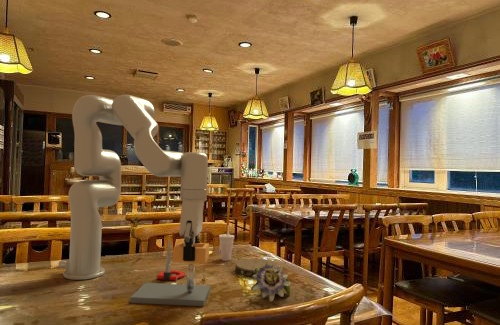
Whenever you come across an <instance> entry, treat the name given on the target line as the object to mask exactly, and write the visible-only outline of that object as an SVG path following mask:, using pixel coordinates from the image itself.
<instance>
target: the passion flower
mask: <svg viewBox="0 0 500 325" xmlns="http://www.w3.org/2000/svg"><path fill="white" fill-rule="evenodd" d="M283 268H284V267H283V266H282V265H281V266H280V265H279V267H277V268H275V267H274V268H273V265H271V264H270V262H269V261H267V262H266V265H265V266H264V267H263V268H260V269H258V268H255V271H253V269H252V272H253V274H254V275H253V276H252V277H253V278H252V279H254V280H256V283H254V284H253V285H252V286H251V287H250V290H251V291H255V292H256V291H258V290H260V297H261V298H262V299H265V298H267V299H268V301H269V302H270V303H271V302H273V301H274V299H275V295H278V296H279V297H282V298H283V297H284V294H285V293H284V291H285V292H286V294H287V296H290V294H291V287H290V286H292V283H291V281H290V280H289V278H288V277H289V274H286V273H283V272H282V270H283ZM257 271H258V272H257ZM255 272H256V274H255Z"/></svg>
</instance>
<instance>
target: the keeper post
mask: <svg viewBox="0 0 500 325" xmlns="http://www.w3.org/2000/svg"><path fill="white" fill-rule="evenodd" d="M186 268H187V271H186V272H187V273H186V274H187V275H186V285H187V291H188V292H192V291H193V289H194V285H195V265H194V264H193V263H189V264H187V267H186Z"/></svg>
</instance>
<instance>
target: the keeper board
mask: <svg viewBox="0 0 500 325" xmlns="http://www.w3.org/2000/svg"><path fill="white" fill-rule="evenodd" d="M210 293H211V285H206V284H205V285H203V284H201V285H200V284H194V289H193V291H192V292H188V291H187V284H182V283H180V284H179V283H157V282H145V283H144V284H142V285H141V286H140V287H139V288H138V289H137V290H136V291H135V292H134V293H133V294H132V295H131V296H130V304H131V303H132V304H148V305H149V304H151V305H172V306H175V305H176V306H192V307H193V306H194V307H205V304H206V302H207V299H208V297H209V295H210Z"/></svg>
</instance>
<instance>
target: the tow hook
mask: <svg viewBox="0 0 500 325" xmlns="http://www.w3.org/2000/svg"><path fill="white" fill-rule="evenodd" d="M167 242H168V243H167V248H166V260H165V262H166V263H165V269H164V271H161V272H159V274H157V276H156V279H157V280H160V281H161V280H164V281H168V282H170V281H174V282H177V281H178V279H182V278H184V277H185V273H184V272H183V271H180V270H171V252H172V246H171V242H172V240H171V239H170V240H167ZM174 274H175V275H174Z"/></svg>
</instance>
